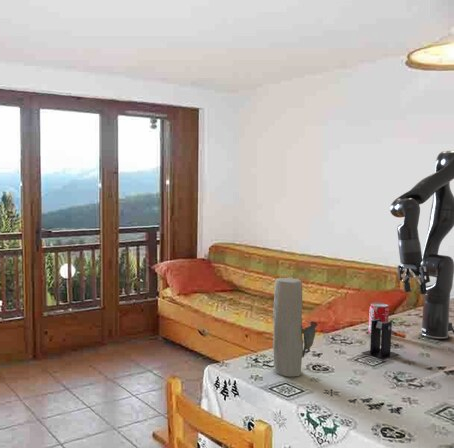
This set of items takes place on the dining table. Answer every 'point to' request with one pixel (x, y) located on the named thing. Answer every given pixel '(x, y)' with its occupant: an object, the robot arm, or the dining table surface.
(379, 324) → the clamp lever
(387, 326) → the clamp bracket
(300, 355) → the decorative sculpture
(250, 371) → the dining table surface
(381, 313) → the soda can
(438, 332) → the robot arm
